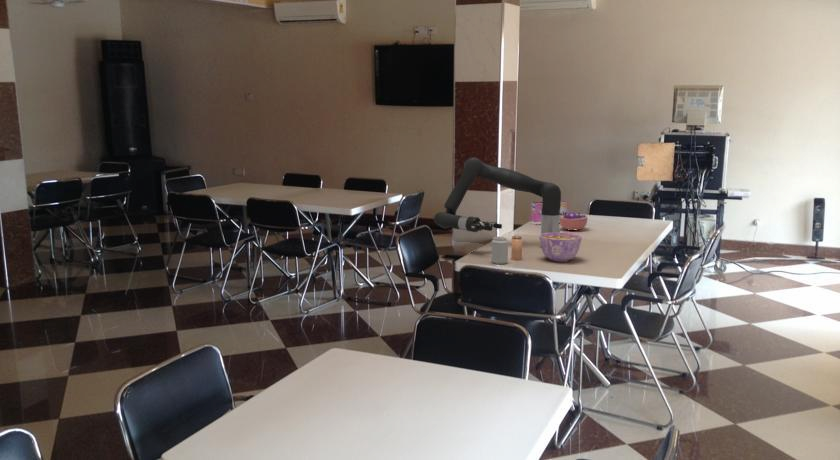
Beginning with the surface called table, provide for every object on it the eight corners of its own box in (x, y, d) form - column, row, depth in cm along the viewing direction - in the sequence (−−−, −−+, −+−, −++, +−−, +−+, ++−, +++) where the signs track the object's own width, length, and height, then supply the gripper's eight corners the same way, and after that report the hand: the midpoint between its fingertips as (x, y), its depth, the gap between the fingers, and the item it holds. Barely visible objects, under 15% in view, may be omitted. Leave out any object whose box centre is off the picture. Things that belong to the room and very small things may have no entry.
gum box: (564, 221, 449) (564, 200, 447) (570, 223, 442) (570, 202, 440) (530, 223, 443) (530, 202, 440) (535, 225, 435) (535, 203, 433)
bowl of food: (554, 265, 320) (554, 241, 318) (530, 257, 338) (530, 234, 336) (589, 262, 328) (590, 237, 326) (564, 254, 346) (565, 231, 344)
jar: (520, 258, 337) (520, 235, 336) (522, 260, 333) (523, 237, 331) (510, 258, 337) (510, 235, 335) (512, 260, 332) (513, 237, 330)
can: (490, 261, 330) (490, 236, 328) (505, 261, 330) (506, 236, 328) (493, 264, 322) (493, 239, 320) (509, 264, 323) (509, 238, 321)
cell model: (592, 229, 420) (592, 210, 418) (580, 234, 404) (581, 214, 402) (565, 226, 429) (565, 208, 427) (553, 231, 413) (553, 212, 411)
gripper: (461, 217, 343) (488, 221, 333) (477, 214, 354) (504, 218, 344) (460, 232, 345) (488, 237, 334) (477, 229, 355) (504, 233, 345)
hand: (496, 227), depth 339 cm, fingers open, 8 cm apart
